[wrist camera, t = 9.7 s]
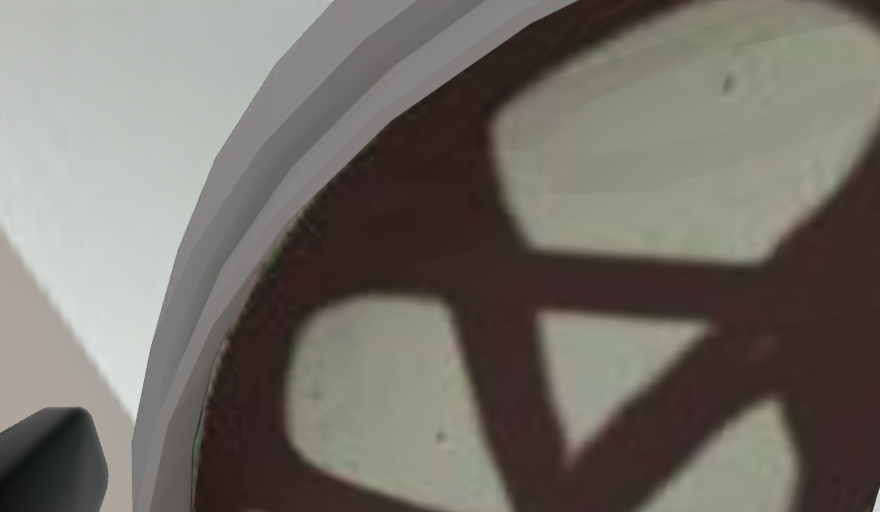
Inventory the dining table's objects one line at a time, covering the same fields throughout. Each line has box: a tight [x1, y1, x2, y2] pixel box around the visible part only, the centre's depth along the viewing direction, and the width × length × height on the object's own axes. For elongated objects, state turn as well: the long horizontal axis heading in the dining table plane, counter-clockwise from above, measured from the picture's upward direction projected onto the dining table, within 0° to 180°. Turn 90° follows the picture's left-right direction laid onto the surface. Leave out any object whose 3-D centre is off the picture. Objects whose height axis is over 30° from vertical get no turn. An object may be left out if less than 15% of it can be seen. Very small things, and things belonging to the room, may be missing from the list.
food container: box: [132, 0, 880, 512], centre depth 10 cm, size 12×6×10 cm, turn 175°
